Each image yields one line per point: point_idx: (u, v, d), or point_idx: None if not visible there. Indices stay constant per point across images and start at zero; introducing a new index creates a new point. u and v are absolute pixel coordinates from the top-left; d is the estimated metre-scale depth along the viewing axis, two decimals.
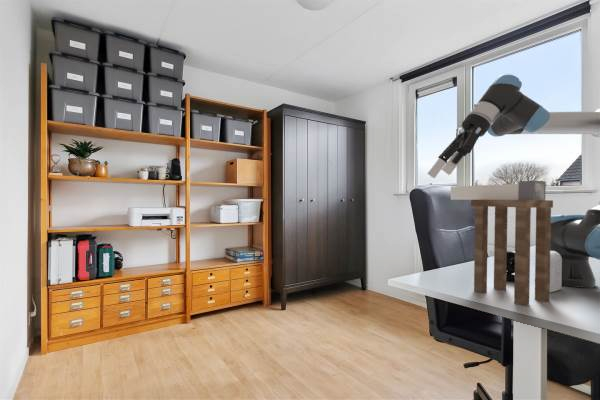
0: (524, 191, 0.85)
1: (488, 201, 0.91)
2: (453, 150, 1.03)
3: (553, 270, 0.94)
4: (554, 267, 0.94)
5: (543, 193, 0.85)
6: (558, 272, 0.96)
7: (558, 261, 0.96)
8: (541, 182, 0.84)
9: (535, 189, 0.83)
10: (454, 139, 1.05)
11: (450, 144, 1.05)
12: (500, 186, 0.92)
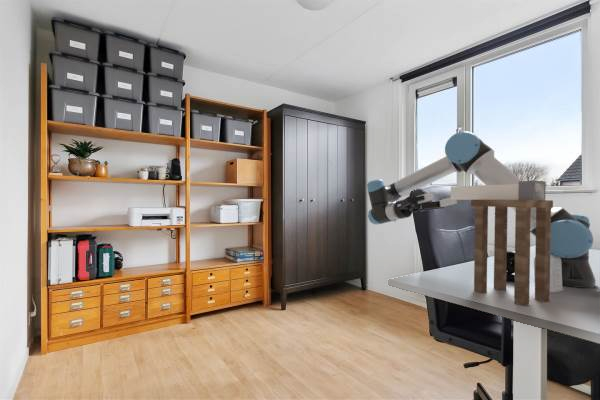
0: (524, 191, 0.85)
1: (488, 201, 0.91)
2: (428, 204, 1.24)
3: (551, 270, 0.95)
4: (551, 268, 0.95)
5: (543, 193, 0.85)
6: (557, 273, 0.96)
7: (556, 262, 0.96)
8: (541, 182, 0.84)
9: (535, 189, 0.83)
10: (423, 210, 1.28)
11: (428, 209, 1.26)
12: (500, 186, 0.92)
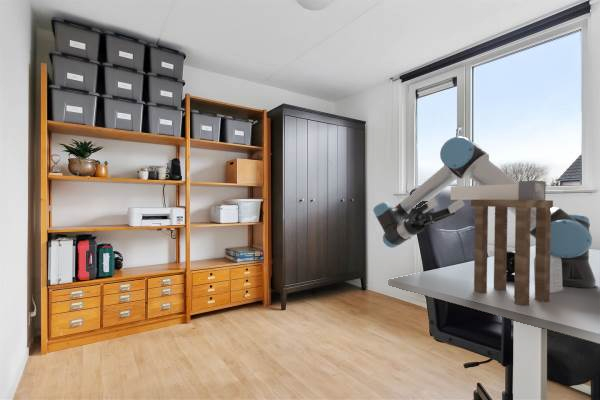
0: (524, 191, 0.85)
1: (488, 201, 0.91)
2: (437, 213, 1.20)
3: (551, 270, 0.95)
4: (551, 268, 0.95)
5: (543, 193, 0.85)
6: (557, 273, 0.96)
7: (556, 262, 0.96)
8: (541, 182, 0.84)
9: (535, 189, 0.83)
10: (435, 221, 1.24)
11: (439, 219, 1.22)
12: (500, 186, 0.92)
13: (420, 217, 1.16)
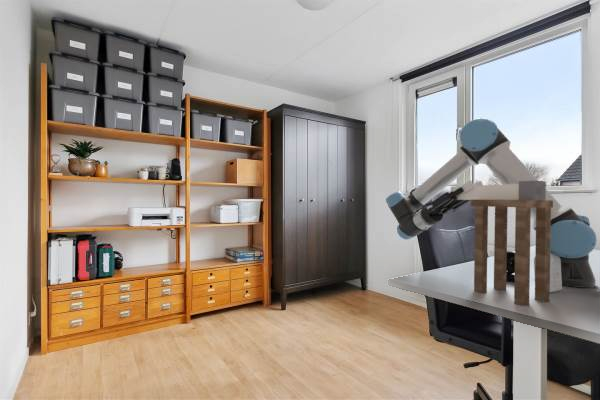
0: (524, 191, 0.85)
1: (488, 201, 0.91)
2: (454, 201, 1.11)
3: (551, 270, 0.95)
4: (551, 267, 0.95)
5: (543, 193, 0.85)
6: (557, 272, 0.96)
7: (555, 261, 0.96)
8: (541, 182, 0.84)
9: (535, 189, 0.83)
10: (456, 209, 1.15)
11: (458, 206, 1.13)
12: (500, 186, 0.92)
13: (447, 204, 1.08)
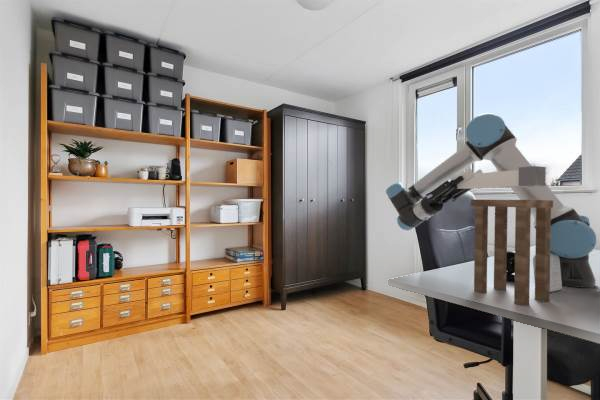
0: (524, 176, 0.85)
1: (488, 201, 0.91)
2: (454, 190, 1.11)
3: (550, 269, 0.95)
4: (551, 267, 0.95)
5: (543, 179, 0.85)
6: (556, 272, 0.96)
7: (554, 261, 0.96)
8: (541, 168, 0.84)
9: (535, 175, 0.83)
10: (456, 198, 1.15)
11: (458, 196, 1.13)
12: (500, 173, 0.92)
13: (447, 193, 1.09)
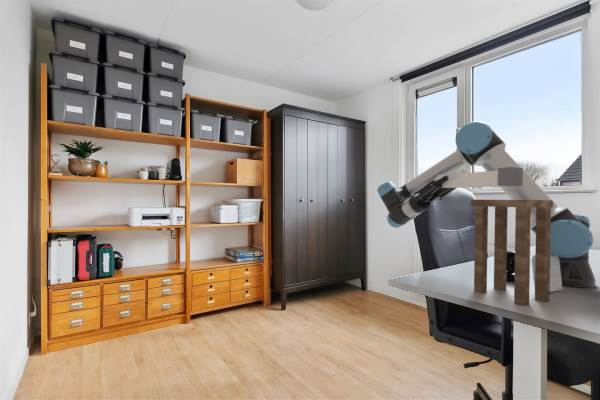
0: (503, 177, 0.91)
1: (488, 201, 0.91)
2: (440, 189, 1.16)
3: None
4: None
5: (520, 179, 0.90)
6: (555, 272, 0.97)
7: (553, 261, 0.97)
8: (518, 168, 0.90)
9: (513, 175, 0.89)
10: (442, 197, 1.20)
11: (444, 195, 1.18)
12: (481, 173, 0.97)
13: (434, 192, 1.14)
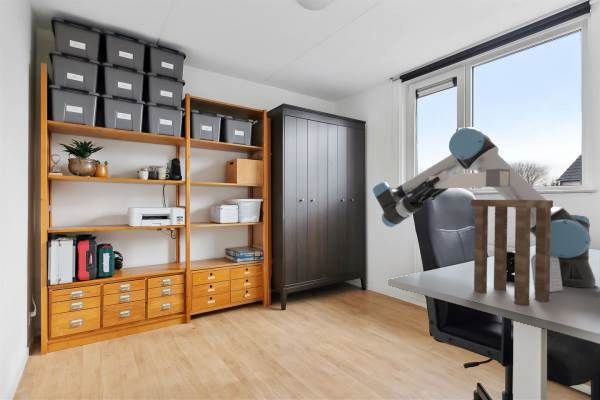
0: (491, 178, 0.94)
1: (488, 201, 0.91)
2: (432, 189, 1.20)
3: None
4: None
5: (507, 180, 0.94)
6: (555, 272, 0.97)
7: (553, 261, 0.97)
8: (505, 170, 0.93)
9: (500, 177, 0.92)
10: (435, 197, 1.24)
11: (437, 195, 1.22)
12: (471, 175, 1.01)
13: (426, 192, 1.17)
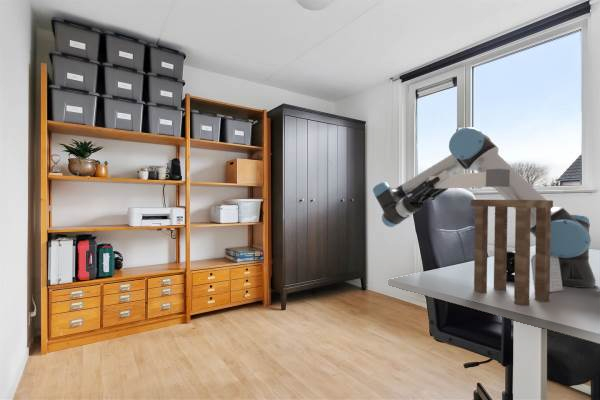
0: (491, 178, 0.94)
1: (488, 201, 0.91)
2: (432, 189, 1.20)
3: None
4: None
5: (507, 180, 0.94)
6: (555, 272, 0.97)
7: (553, 261, 0.97)
8: (505, 170, 0.93)
9: (500, 177, 0.92)
10: (435, 197, 1.24)
11: (437, 195, 1.22)
12: (471, 175, 1.01)
13: (426, 192, 1.17)
